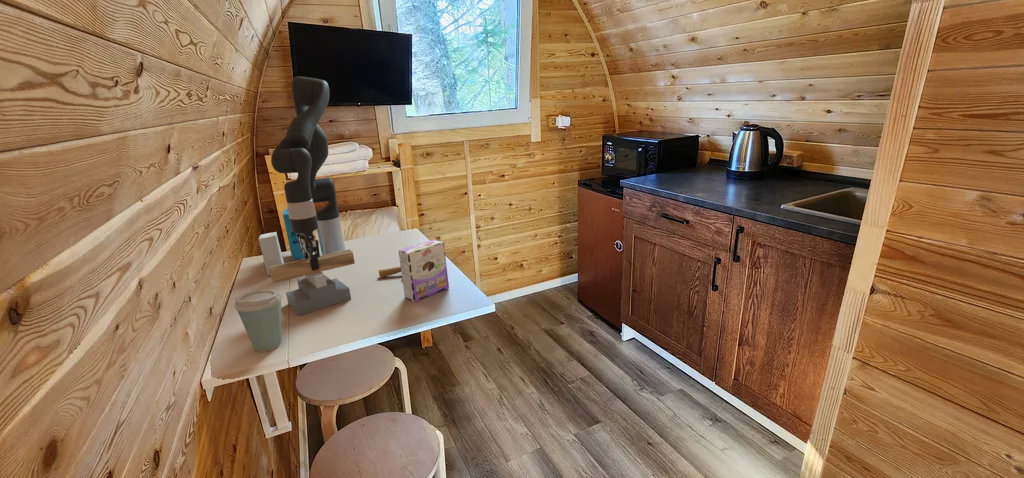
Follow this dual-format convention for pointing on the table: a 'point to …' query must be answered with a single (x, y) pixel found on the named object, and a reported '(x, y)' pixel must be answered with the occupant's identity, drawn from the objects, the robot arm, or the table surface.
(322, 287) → the ridge stand
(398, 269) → the kendama
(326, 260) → the oak beam
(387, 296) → the table surface
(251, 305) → the disposable coffee cup
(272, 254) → the skincare box
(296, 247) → the block
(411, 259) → the candy box
